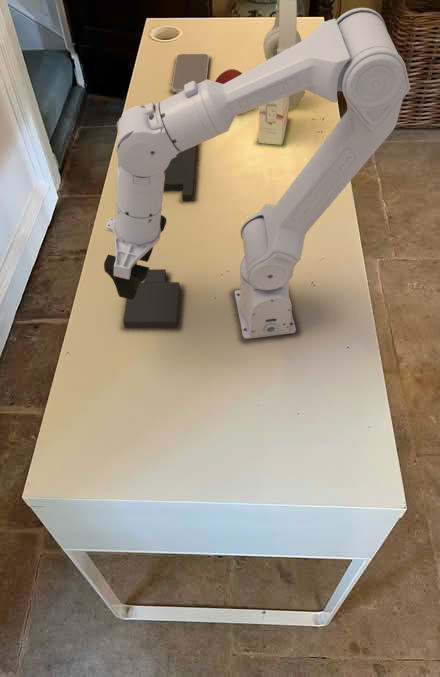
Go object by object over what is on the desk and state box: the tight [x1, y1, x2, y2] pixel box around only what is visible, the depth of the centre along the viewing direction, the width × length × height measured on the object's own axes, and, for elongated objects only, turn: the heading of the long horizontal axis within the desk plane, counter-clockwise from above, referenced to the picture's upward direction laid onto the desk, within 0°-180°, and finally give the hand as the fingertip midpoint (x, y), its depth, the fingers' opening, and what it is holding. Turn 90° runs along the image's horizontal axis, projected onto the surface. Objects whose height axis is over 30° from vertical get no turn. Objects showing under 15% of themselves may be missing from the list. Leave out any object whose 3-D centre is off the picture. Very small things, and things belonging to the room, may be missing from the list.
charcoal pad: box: [122, 268, 181, 329], centre depth 95 cm, size 11×8×2 cm
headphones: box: [262, 0, 306, 109], centre depth 123 cm, size 20×8×19 cm, turn 178°
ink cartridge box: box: [258, 96, 290, 146], centre depth 115 cm, size 9×5×15 cm, turn 168°
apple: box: [214, 68, 243, 84], centre depth 123 cm, size 7×8×8 cm
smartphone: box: [171, 53, 210, 94], centre depth 134 cm, size 7×1×15 cm
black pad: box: [163, 145, 198, 202], centre depth 115 cm, size 22×10×2 cm, turn 179°
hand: (134, 277), depth 86 cm, fingers open, 7 cm apart
